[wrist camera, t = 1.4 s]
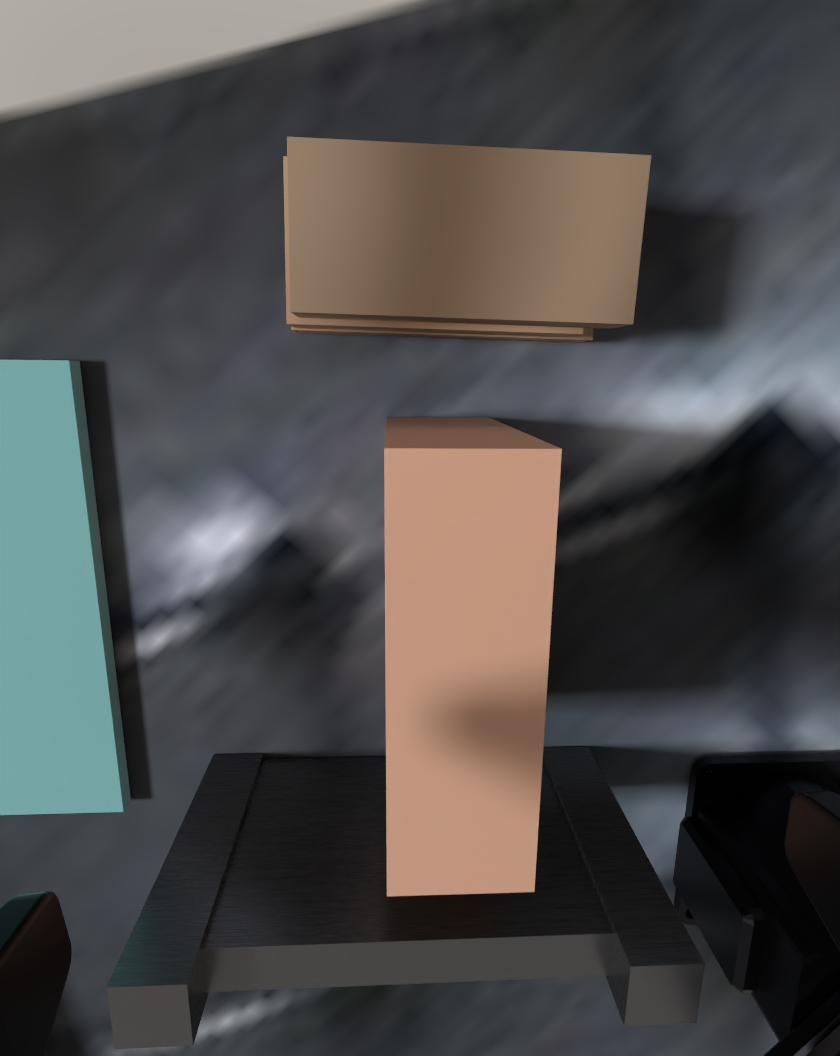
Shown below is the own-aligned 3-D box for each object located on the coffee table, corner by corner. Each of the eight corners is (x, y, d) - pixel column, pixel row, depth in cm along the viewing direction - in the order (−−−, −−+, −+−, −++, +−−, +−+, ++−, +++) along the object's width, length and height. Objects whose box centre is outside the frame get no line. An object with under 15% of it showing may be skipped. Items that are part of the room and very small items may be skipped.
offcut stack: (589, 198, 17) (651, 144, 13) (577, 342, 18) (632, 333, 14) (296, 185, 17) (266, 124, 13) (298, 333, 18) (271, 321, 14)
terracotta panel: (489, 417, 18) (562, 448, 11) (479, 695, 20) (534, 891, 13) (387, 416, 18) (384, 448, 10) (388, 697, 20) (387, 897, 13)
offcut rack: (587, 746, 21) (704, 963, 13) (584, 788, 21) (696, 1022, 14) (213, 754, 20) (106, 987, 13) (216, 797, 21) (115, 1048, 13)
